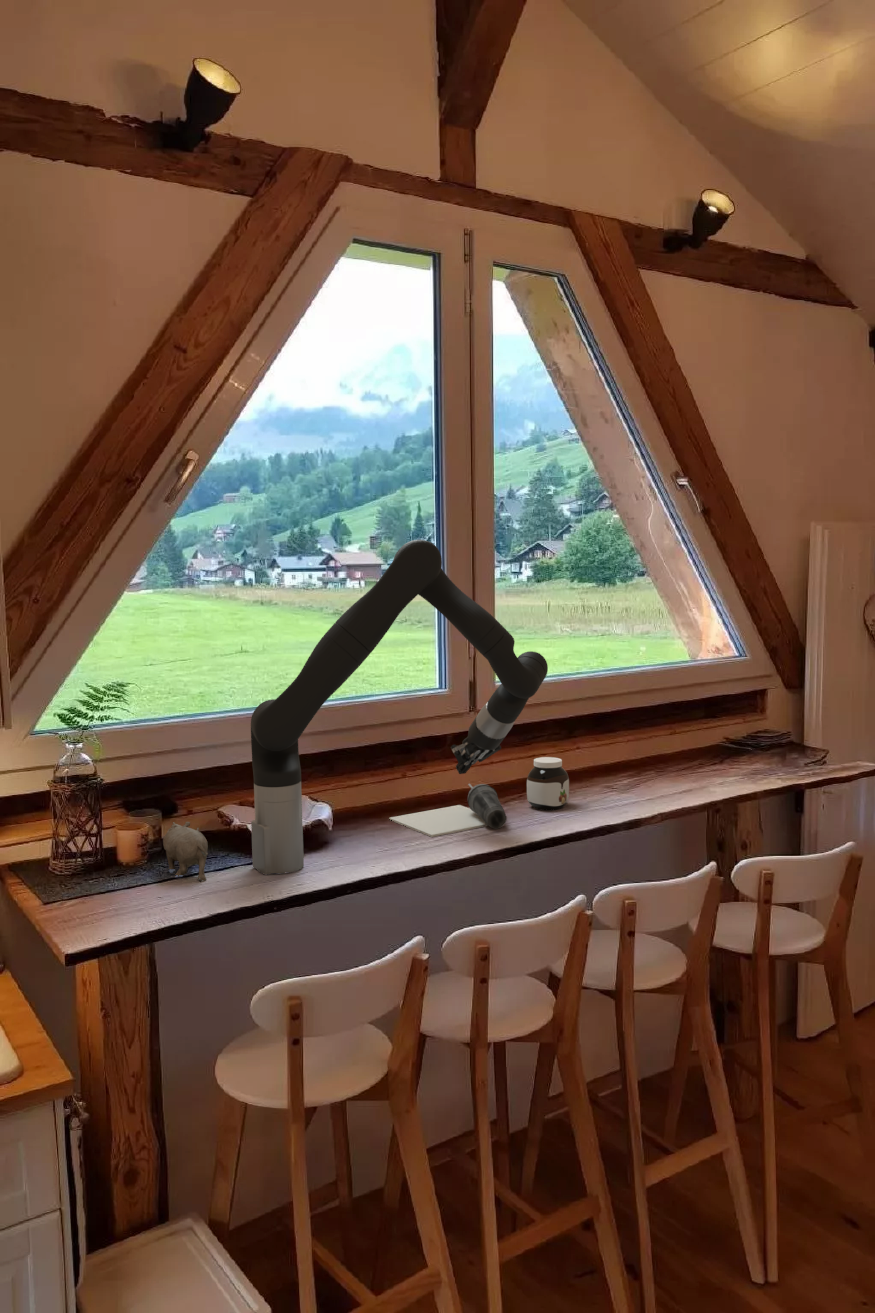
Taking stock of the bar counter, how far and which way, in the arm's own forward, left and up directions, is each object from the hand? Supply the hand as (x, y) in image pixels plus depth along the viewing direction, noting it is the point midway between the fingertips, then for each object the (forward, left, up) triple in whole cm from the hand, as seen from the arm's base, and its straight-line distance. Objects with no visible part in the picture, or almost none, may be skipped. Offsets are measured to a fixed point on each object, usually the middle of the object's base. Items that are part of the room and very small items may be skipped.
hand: (460, 770), depth 226 cm
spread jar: (+28, +4, -13) cm, 31 cm away
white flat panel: (0, +6, -13) cm, 14 cm away
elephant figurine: (-62, +6, -13) cm, 63 cm away
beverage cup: (+5, -7, -11) cm, 14 cm away
